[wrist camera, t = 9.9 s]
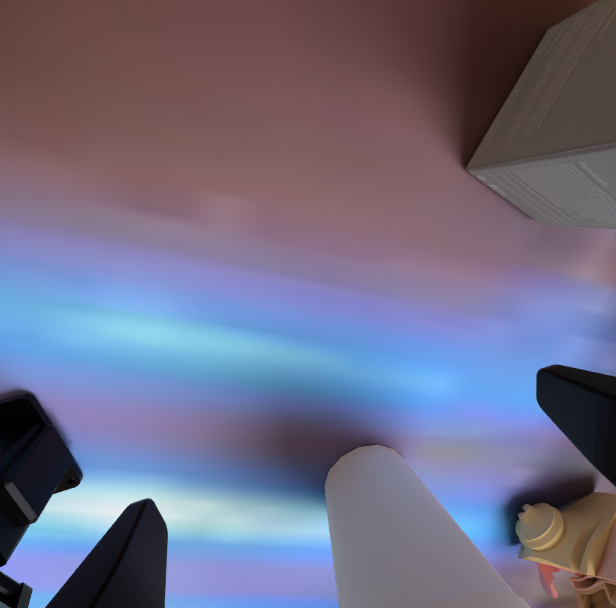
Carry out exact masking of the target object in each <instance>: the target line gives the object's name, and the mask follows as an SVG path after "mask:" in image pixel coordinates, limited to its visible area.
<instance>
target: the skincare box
mask: <svg viewBox="0 0 616 608" xmlns="http://www.w3.org/2000/svg"><path fill="white" fill-rule="evenodd" d="M466 170H467V171H468V172H469V173H470V174H472V175H473V176H475V177H476V178H477V179H479V180H480V181H481V182H483V183H484V184H486V185H487V186H488V187H490V188H491V189H493V190H494V191H495V192H497V193H498V194H499V195H501V196H502V197H504V198H505V199H506V200H508V201H509V202H511V203H512V204H513V205H515V206H516V207H517V208H519V209H520V210H521V211H523V212H524V213H526V214H527V215H528V216H530V217H531V218H532V219H534V220H535V221H537V222H538V223H539V224H543V225H557V226H571V227H587V228H605V229H616V0H598V1H597V2H595V3H593V4H591V5H590V6H588V7H586V8H585V9H583V10H581V11H580V12H578V13H576V14H574V15H573V16H571V17H569V18H567V19H566V20H564V21H562V22H560V23H558V24H557V25H555V26H553V27H551V28H549V29H548V30H547V32H546V33H545V35H544V37H543V38H542V40H541V42H540V43H539V45H538V47H537V49H536V50H535V52H534V54H533V56H532V57H531V59H530V61H529V62H528V64H527V66H526V67H525V69H524V71H523V73H522V74H521V76H520V78H519V79H518V81H517V83H516V84H515V86H514V88H513V90H512V91H511V93H510V94H509V96H508V98H507V100H506V101H505V103H504V105H503V106H502V108H501V110H500V111H499V113H498V115H497V116H496V118H495V120H494V121H493V123H492V125H491V126H490V128H489V130H488V131H487V133H486V135H485V136H484V138H483V140H482V142H481V143H480V145H479V147H478V148H477V150H476V152H475V153H474V155H473V157H472V159H471V160H470V162H469V164H468V166H467V167H466Z"/></svg>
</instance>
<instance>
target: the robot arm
mask: <svg viewBox="0 0 616 608" xmlns="http://www.w3.org/2000/svg"><path fill="white" fill-rule="evenodd" d="M536 398H537V402H538V404H539V406H540V407H541V409H542V410H543V411H544V412H545V413H546V414H547V416H548V417H549V418H550V419H551V420H552V421H553V422H554V423H555V424H556V425H557V427H558V428H559V429H560V430H561V431H562V432H563V433H564V434H565V435H566V437H567V438H568V439H569V440H570V441H571V442H572V443H573V444H574V445H575V446H576V448H577V449H578V450H579V451H580V452H581V453H582V454H583V455H584V456H585V457H586V458H587V460H588V461H589V462H590V463H591V464H592V465H593V466H594V467H595V468H596V469H597V470H598V471H599V472H600V473H601V474H602V475H604V476H605V477H606V478H607V479H608V480H609V481H610V482H611V483H612V484H613V485H614V486H615V487H616V377H615V376H610V375H605V374H601V373H596V372H591V371H586V370H582V369H577V368H572V367H567V366H562V365H551V366H548V367H544V368H541V369H540V370H538V372H537V376H536ZM22 402H24V403H26V404H27V405H28V406H25V405H23V404H22ZM71 478H74V479H71ZM82 478H83V474H82V472H81V471H80V469H79V467H78V466H77V464H76V462H75V461H74V459H73V456H72V455H71V453H70V452H69V450H68V448H67V447H66V445H65V444H64V442H63V440H62V439H61V437H60V435H59V434H58V432H57V431H56V429H55V427H54V426H53V425H52V424H51V422H50V420H49V419H48V417H47V416H46V414H45V412H44V411H43V409H42V408H41V406H40V404H39V403H38V401H37V399H36V398H35V397H34V396H32V395H30V394H21V395H18V396H15V397H11V398H8V399H4V400H1V401H0V567H2V566H4V565H5V564H6V563H7V561H8V560H9V558H10V556H11V555H12V553H13V552H14V550H15V548H16V547H17V545H18V543H19V542H20V540H21V538H22V537H23V535H24V534H25V532H26V530H27V529H28V527H29V525H30V524H32V523H35V522H36V521H37V520H38V518H39V516H40V515H41V513H42V511H43V510H44V508H45V506H46V505H47V503H48V501H49V500H50V498H51V496H52V495H53V494H56V493H59V492H62V491H65V490H68V489H71V488H74V487H76V486H78V485H79V484H80V482H81V480H82ZM167 544H168V531H167V526H166V523H165V521H164V520H163V518H162V516H161V514H160V512H159V510H158V508H157V507H156V505H155V503H154V501H153V500H152V499H150V498H147V499H143V500H140V501H137V502H134V503H132V504H130V505H129V506H128V507H127V508H126V509H125V510H124V511H123V513H122V514H121V515H120V516H119V518H118V519H117V520H116V521H115V522H114V524H113V525H112V526H111V527H110V529H109V530H108V531H107V532H106V534H105V535H104V536H103V537H102V538H101V540H100V541H99V542H98V543H97V545H96V546H95V547H94V548H93V550H92V551H91V552H90V553H89V554H88V556H87V557H86V558H85V559H84V561H83V562H82V563H81V564H80V566H79V567H78V568H77V569H76V570H75V572H74V573H73V574H72V575H71V577H70V578H69V579H68V580H67V582H66V583H65V584H64V585H63V586H62V588H61V589H60V590H59V591H58V593H57V594H56V595H55V596H54V598H53V599H52V600H51V601H50V602H49V604H48V605H47V606H46V607H45V608H165V587H166V565H167ZM32 590H33V589H32V588H31V587H29V586H28V585H26V584H25V583H20V584H19V583H18V582H16V581H15V580H13V579H12V578H10V577H9V576H7V575H6V574H4V573H3V572H1V571H0V608H28V606H29V602H30V598H31V594H32Z"/></svg>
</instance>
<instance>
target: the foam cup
mask: <svg viewBox="0 0 616 608" xmlns="http://www.w3.org/2000/svg"><path fill="white" fill-rule="evenodd" d="M324 488H325V491H326V492H325V499H326V507H327V515H328V523H329V531H330V539H331V547H332V555H333V563H334V571H335V579H336V587H337V595H338V603H339V608H531V607H530V606H529V605H528V604H527V603H526V602H525V601H524V600H523V599H522V598H521V597H520V596H516V595H515V593H514V592H513V591H512V590H511V588H510V587H509V586H508V585H507V584H506V582H505V581H504V580H503V579H502V578H501V576H500V575H499V574H498V573H497V571H496V570H495V569H494V568H493V567H492V565H491V564H490V563H489V562H488V561H487V559H486V558H485V557H484V556H483V554H482V553H481V552H480V551H479V550H478V548H477V547H476V546H475V545H474V544H473V542H472V541H471V540H470V539H469V537H468V536H467V535H466V534H465V533H464V531H463V530H462V529H461V528H460V527H459V525H458V524H457V523H456V522H455V521H454V519H453V518H452V517H451V516H450V514H449V513H448V512H447V511H446V510H445V508H444V507H443V506H442V505H441V504H440V502H439V501H438V500H437V499H436V497H435V496H434V495H433V494H432V493H431V491H430V490H429V489H428V488H427V487H426V485H425V484H424V483H423V482H422V480H421V479H420V478H419V477H418V476H417V474H416V473H415V472H414V471H413V470H412V468H411V467H410V466H409V465H408V464H407V463H406V462H405V460H404V459H403V458H402V457H401V456H400V455H399V454H398V453H397V452H396V451H395V450H394V449H392V448H388V447H385V446H381V445H371V446H364V447H358V448H357V449H355V450H353V451H351V452H349V453H347V454H345V455H343V456H342V457H341V458H340V459H339V460H338V461H337V462H336V463H335V464H334V466H333V467H332V468H331V469H330V470H329V472H328V475H327V479H326V482H325V486H324Z"/></svg>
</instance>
